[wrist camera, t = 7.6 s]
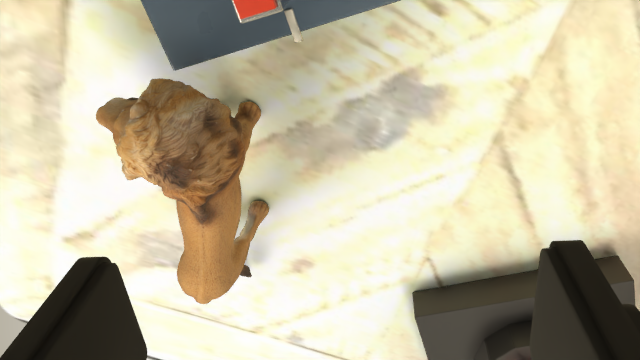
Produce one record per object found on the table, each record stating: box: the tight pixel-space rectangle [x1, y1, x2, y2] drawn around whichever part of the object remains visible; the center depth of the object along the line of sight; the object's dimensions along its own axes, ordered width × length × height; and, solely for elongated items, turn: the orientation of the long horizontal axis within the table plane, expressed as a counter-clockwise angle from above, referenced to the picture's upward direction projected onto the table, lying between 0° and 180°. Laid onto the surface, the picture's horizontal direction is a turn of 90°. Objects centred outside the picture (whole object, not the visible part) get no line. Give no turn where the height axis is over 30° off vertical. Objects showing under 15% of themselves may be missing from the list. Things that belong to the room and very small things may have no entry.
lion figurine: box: [96, 79, 269, 304], centre depth 26 cm, size 15×5×9 cm, turn 7°
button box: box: [413, 256, 635, 360], centre depth 32 cm, size 12×10×4 cm
